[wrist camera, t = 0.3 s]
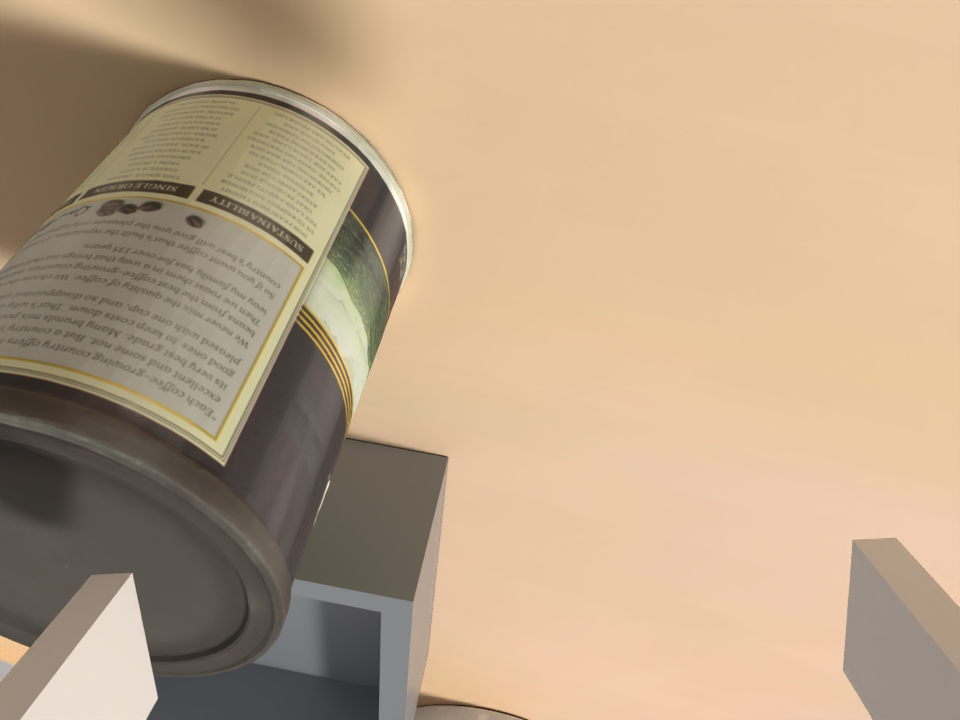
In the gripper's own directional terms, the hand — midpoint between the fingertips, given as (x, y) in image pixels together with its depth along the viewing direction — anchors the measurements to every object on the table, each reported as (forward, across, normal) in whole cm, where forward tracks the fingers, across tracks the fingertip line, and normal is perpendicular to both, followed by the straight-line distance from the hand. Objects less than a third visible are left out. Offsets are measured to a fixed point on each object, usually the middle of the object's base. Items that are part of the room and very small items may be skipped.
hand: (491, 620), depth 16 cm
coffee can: (+16, -7, +6) cm, 18 cm away
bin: (+25, -11, -12) cm, 30 cm away
